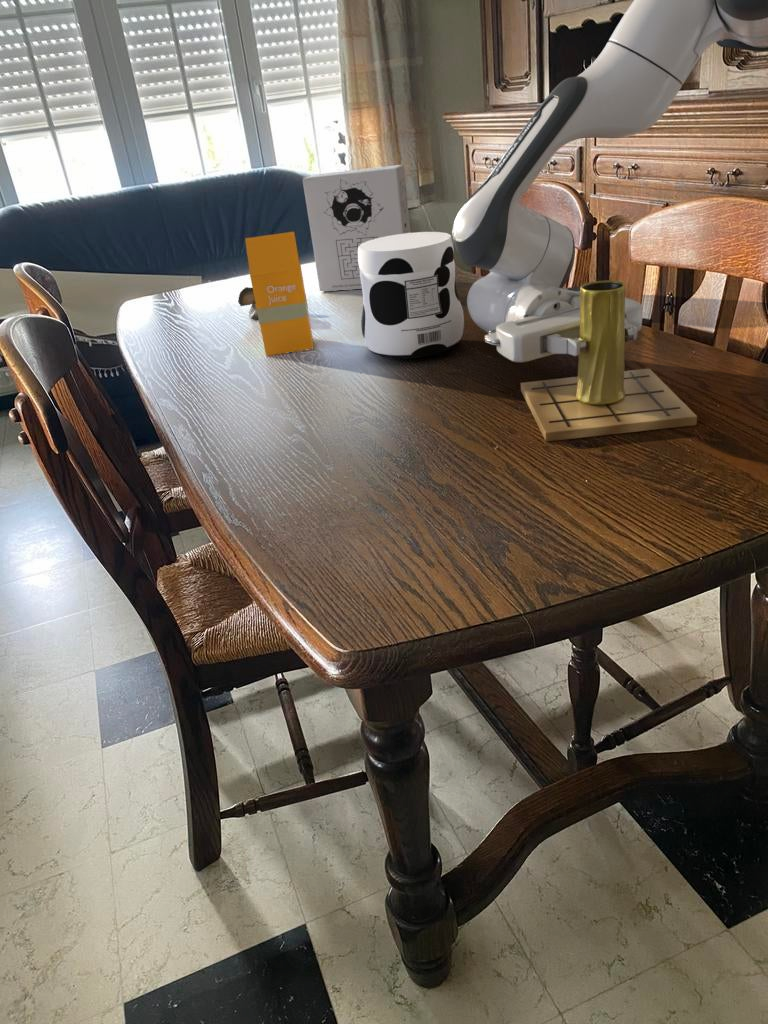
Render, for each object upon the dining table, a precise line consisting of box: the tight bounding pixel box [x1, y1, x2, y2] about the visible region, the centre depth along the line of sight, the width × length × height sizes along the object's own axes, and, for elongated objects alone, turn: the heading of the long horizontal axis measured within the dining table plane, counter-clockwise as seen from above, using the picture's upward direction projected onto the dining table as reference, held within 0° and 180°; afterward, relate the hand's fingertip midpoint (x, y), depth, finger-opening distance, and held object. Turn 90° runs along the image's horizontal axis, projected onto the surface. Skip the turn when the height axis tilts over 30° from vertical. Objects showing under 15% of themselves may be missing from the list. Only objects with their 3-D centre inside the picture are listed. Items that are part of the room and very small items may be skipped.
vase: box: [576, 279, 626, 405], centre depth 94 cm, size 6×6×14 cm
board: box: [520, 367, 698, 443], centre depth 97 cm, size 18×18×1 cm
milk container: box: [358, 231, 465, 360], centre depth 124 cm, size 17×17×18 cm
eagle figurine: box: [237, 286, 259, 322], centre depth 163 cm, size 8×7×9 cm
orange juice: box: [244, 231, 314, 357], centre depth 134 cm, size 8×9×20 cm
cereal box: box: [302, 164, 411, 292], centre depth 171 cm, size 22×8×25 cm, turn 77°
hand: (607, 341), depth 93 cm, fingers open, 6 cm apart
